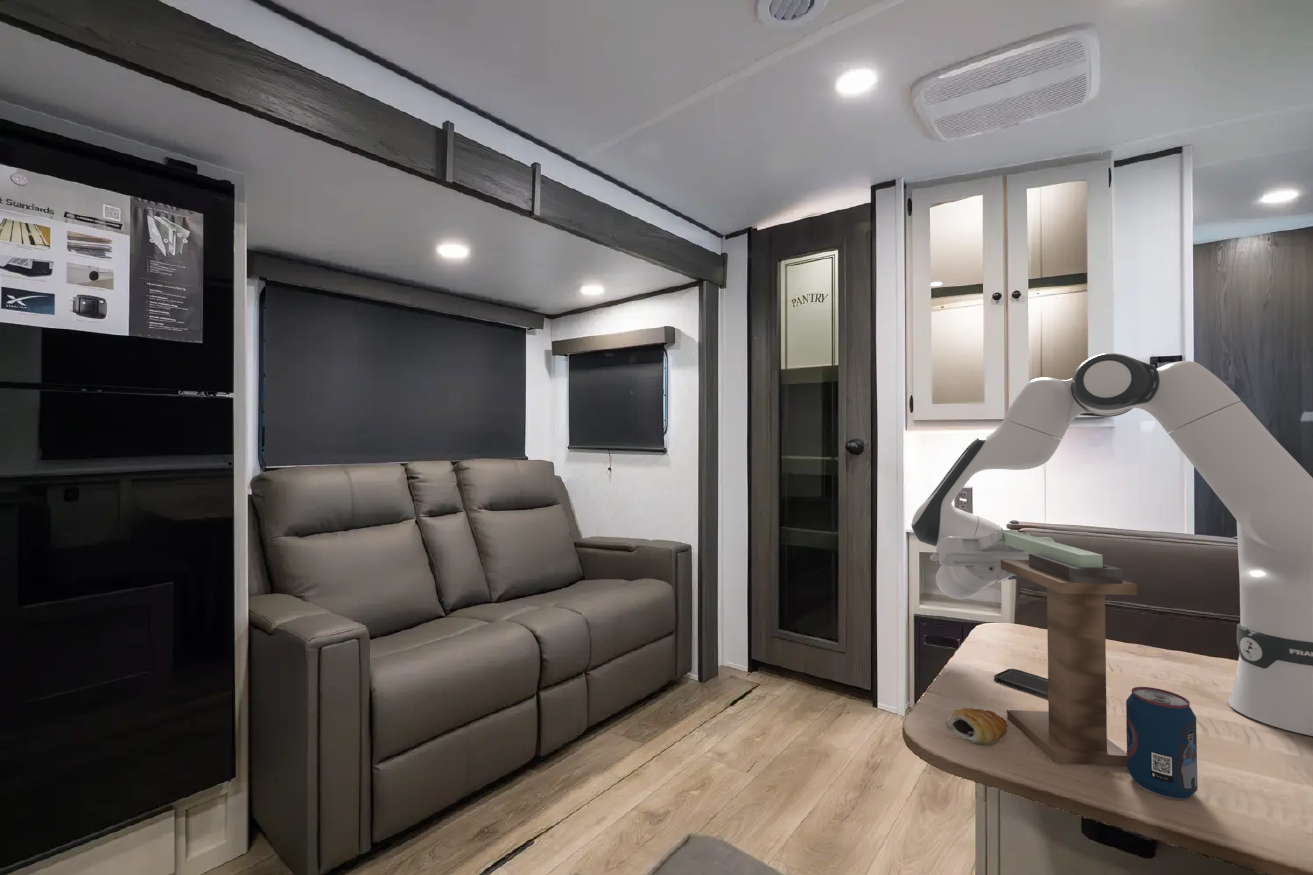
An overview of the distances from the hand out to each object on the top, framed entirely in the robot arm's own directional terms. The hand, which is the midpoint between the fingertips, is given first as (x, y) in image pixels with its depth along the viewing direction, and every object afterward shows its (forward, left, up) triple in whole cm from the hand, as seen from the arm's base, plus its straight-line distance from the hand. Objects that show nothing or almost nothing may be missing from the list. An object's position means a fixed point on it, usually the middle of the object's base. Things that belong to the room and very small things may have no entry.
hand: (1013, 536), depth 100 cm
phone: (-8, -5, -30) cm, 31 cm away
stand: (0, +14, -29) cm, 32 cm away
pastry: (+12, +12, -30) cm, 34 cm away
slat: (0, +8, -1) cm, 8 cm away
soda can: (-5, +25, -29) cm, 39 cm away
